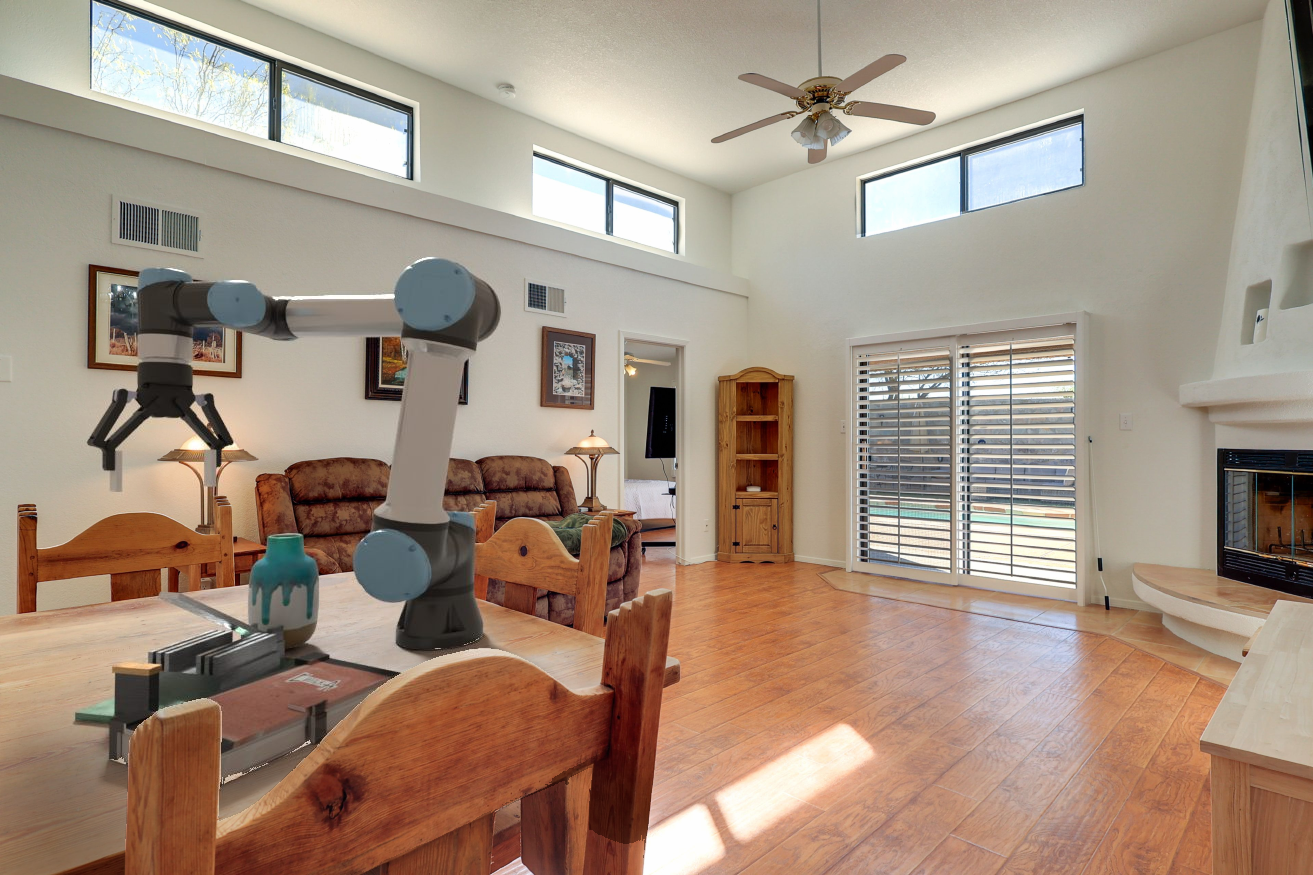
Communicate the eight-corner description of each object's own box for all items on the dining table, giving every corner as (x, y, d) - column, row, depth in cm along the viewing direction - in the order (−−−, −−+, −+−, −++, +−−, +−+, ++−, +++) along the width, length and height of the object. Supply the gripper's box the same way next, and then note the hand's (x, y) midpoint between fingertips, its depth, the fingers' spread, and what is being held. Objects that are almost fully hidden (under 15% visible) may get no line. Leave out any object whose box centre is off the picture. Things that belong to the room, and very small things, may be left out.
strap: (269, 640, 104) (271, 635, 105) (177, 598, 88) (180, 592, 88) (252, 639, 105) (254, 634, 105) (157, 597, 88) (160, 591, 89)
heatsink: (311, 665, 105) (311, 621, 105) (178, 730, 81) (179, 673, 81) (227, 658, 108) (228, 615, 108) (75, 720, 84) (76, 664, 84)
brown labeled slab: (209, 799, 67) (210, 750, 67) (108, 763, 74) (109, 718, 74) (404, 706, 91) (404, 669, 91) (314, 685, 98) (314, 651, 98)
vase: (268, 661, 106) (270, 542, 106) (234, 649, 112) (236, 536, 112) (331, 645, 115) (332, 534, 115) (296, 634, 121) (298, 529, 121)
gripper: (234, 370, 124) (234, 483, 124) (61, 356, 103) (61, 492, 103) (254, 368, 120) (254, 485, 120) (79, 353, 99) (79, 494, 99)
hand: (165, 489), depth 112 cm, fingers open, 13 cm apart
